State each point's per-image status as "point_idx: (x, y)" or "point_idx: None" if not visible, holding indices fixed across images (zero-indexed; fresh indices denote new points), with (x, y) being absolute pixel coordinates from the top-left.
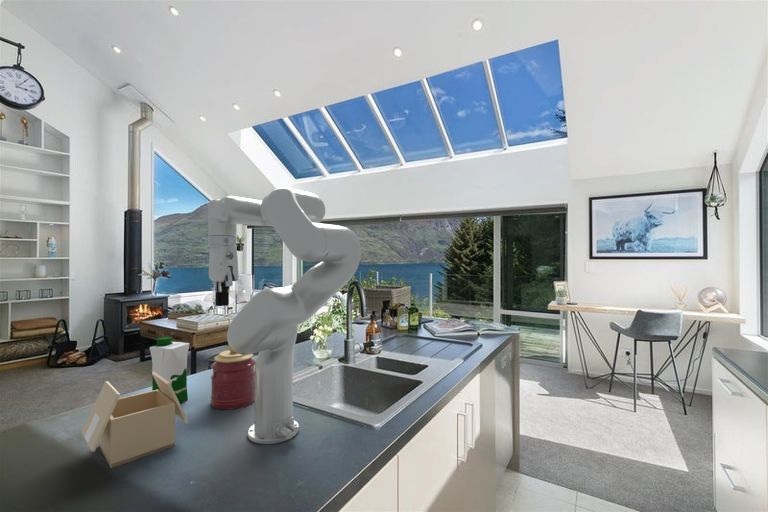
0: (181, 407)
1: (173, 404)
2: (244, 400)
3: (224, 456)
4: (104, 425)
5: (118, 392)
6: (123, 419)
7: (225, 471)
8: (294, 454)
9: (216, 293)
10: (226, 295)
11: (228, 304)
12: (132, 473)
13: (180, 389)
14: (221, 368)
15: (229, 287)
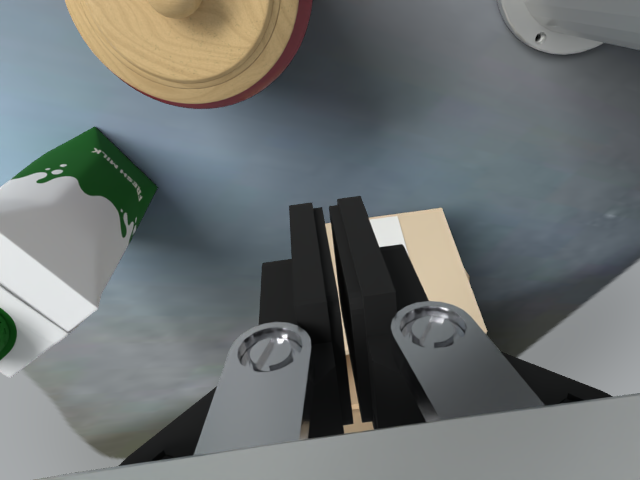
0: (456, 248)
1: (468, 278)
2: None
3: (576, 135)
4: None
5: None
6: None
7: (636, 152)
8: None
9: (344, 423)
10: (425, 300)
11: (358, 196)
12: (484, 294)
13: (127, 179)
14: (265, 80)
15: (502, 356)
